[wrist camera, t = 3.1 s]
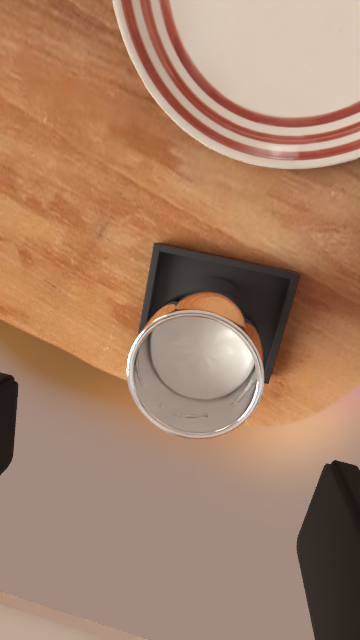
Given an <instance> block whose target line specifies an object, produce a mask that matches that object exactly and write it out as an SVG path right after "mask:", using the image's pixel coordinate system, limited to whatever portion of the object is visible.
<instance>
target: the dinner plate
mask: <svg viewBox="0 0 360 640" xmlns="http://www.w3.org/2000/svg"><path fill="white" fill-rule="evenodd" d="M113 6H114V10H115V14H116V18H117V21H118V25H119V29H120V32H121V35H122V38H123V41H124V43H125V46H126V48H127V51H128V53H129V56H130V58H131V60H132V62H133V64H134V66H135V68H136V70H137V72H138V74H139V76H140V78H141V79H142V81H143V83H144V85H145V86H146V88H147V89H148V91H149V92H150V94H151V95H152V97H153V98H154V99H155V101H156V102H157V103H158V104H159V106H160V107H161V108H162V109H163V110H164V111H165V113H166V114H167V115H168V116H169V117H170V118H171V119H172V120H173V121H174V122H175V123H176V124H177V125H178V126H179V127H180V128H181V129H183V130H184V131H185V132H186V133H188V134H189V135H190V136H192V137H193V138H194V139H196V140H197V141H199V142H200V143H202V144H203V145H205V146H206V147H208V148H210V149H212V150H214V151H216V152H218V153H220V154H222V155H225V156H227V157H230V158H232V159H235V160H237V161H241V162H245V163H248V164H252V165H257V166H262V167H267V168H276V169H311V168H319V167H326V166H331V165H337V164H341V163H345V162H349V161H353V160H356V159H359V158H360V0H113Z"/></svg>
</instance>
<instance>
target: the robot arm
mask: <svg viewBox="0 0 360 640" xmlns="http://www.w3.org/2000/svg"><path fill="white" fill-rule="evenodd" d="M17 397H18V383H17V382H15V381H14V377H13V376H12V375H8V374H4V373H0V475H1V473H3V472H4V470H6V469H7V467H8V466H9V464H10V463H11V461H12V458H13V450H14V436H15V422H16V410H17ZM297 554H298V559H299V564H300V568H301V573H302V578H303V583H304V588H305V593H306V598H307V602H308V608H309V612H310V617H311V622H312V627H313V632H314V637H315V640H360V470H359V468H358V467H357V466H355V465H352V464H348V463H344V462H340V461H337V460H335V461H333V462H332V463H331V464H326V465H325V466H324V468H323V471H322V473H321V476H320V479H319V481H318V484H317V487H316V489H315V492H314V495H313V498H312V500H311V503H310V505H309V508H308V511H307V513H306V516H305V519H304V522H303V524H302V527H301V530H300V532H299V535H298V538H297ZM0 640H147V639H145V638H141V637H138V636H135V635H132V634H129V633H126V632H123V631H120V630H117V629H114V628H111V627H108V626H105V625H102V624H99V623H96V622H93V621H90V620H87V619H83V618H81V617H78V616H74V615H71V614H68V613H65V612H62V611H59V610H56V609H53V608H50V607H47V606H43V605H41V604H37V603H34V602H31V601H28V600H25V599H22V598H19V597H16V596H13V595H10V594H7V593H4V592H1V591H0Z"/></svg>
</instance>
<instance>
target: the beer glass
mask: <svg viewBox="0 0 360 640" xmlns="http://www.w3.org/2000/svg"><path fill="white" fill-rule="evenodd" d="M263 367H264V358H263V346H262V340H261V336H260V332H259V329H258V327H257V324H256V322H255V320H254V318H253V316H252V315H251V313H250V312H249V310H248V305H247V301H246V299H245V297H244V295H243V293H242V292H241V291H240V289H239V288H238V287H237V286H235V285H234V284H233V283H231V282H229V281H227V280H224V279H220V278H207V279H203V280H200V281H198V282H196V283H195V284H193V285H192V286H191V287H190V288H189V289H188V290H187V291H186V292H183V293H181V294H179V295H177V296H175V297H173V298H172V299H170V300H169V301H168V302H166V303H165V304H164V305H162V306H161V307H160V308H159V309H158V310H157V312H156V313H155V314H154V315H153V316H152V317H151V318H150V320H149V321H148V323H147V324H146V326H145V327H144V329H143V330H142V331H141V332H140V334H139V335H138V336H137V338H136V339H135V341H134V343H133V345H132V347H131V349H130V352H129V356H128V360H127V382H128V386H129V390H130V393H131V395H132V398H133V400H134V401H135V403H136V405H137V406H138V408H139V409H140V411H141V412H142V413H143V414H144V415H145V416H146V418H148V419H149V420H150V421H151V422H152V423H153V424H155V425H156V426H157V427H159V428H161V429H162V430H164V431H166V432H168V433H170V434H173V435H176V436H179V437H183V438H188V439H211V438H216V437H220V436H223V435H225V434H228V433H230V432H232V431H234V430H235V429H236V428H238V427H240V426H241V425H242V424H244V423H245V422H246V421H247V420H248V419H249V418H250V416H251V415H252V414H253V412H254V411H255V409H256V408H257V406H258V404H259V402H260V399H261V396H262V393H263V388H264V368H263Z"/></svg>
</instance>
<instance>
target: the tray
mask: <svg viewBox="0 0 360 640" xmlns="http://www.w3.org/2000/svg"><path fill="white" fill-rule="evenodd" d="M207 278H220V279H224V280H227V281H229V282H231V283H233V284H234V285H235V286H237V287H238V288H239V289H240V291H241V292H242V293H243V295H244V297H245V299H246V301H247V305H248V310H249V312H250V313H251V315H252V316H253V318H254V320H255V322H256V324H257V327H258V329H259V332H260V336H261V340H262V346H263V358H264V367H263V368H264V383H266V384H268V383H269V380H270V376H271V373H272V370H273V366H274V363H275V359H276V356H277V353H278V349H279V346H280V342H281V339H282V336H283V332H284V329H285V326H286V322H287V319H288V315H289V312H290V309H291V305H292V302H293V298H294V295H295V292H296V288H297V285H298V282H299V278H300V274H299V273H297V272H294V271H289V270H284V269H280V268H275V267H270V266H266V265H261V264H256V263H252V262H247V261H242V260H238V259H233V258H228V257H224V256H219V255H214V254H209V253H205V252H200V251H195V250H191V249H186V248H181V247H177V246H172V245H167V244H163V243H154V247H153V253H152V258H151V264H150V270H149V276H148V281H147V287H146V293H145V299H144V304H143V310H142V316H141V322H140V327H139V333H138V335H139V334H140V332H141V331H142V330H143V329H144V327H145V326H146V324H147V323H148V321H149V320H150V318H151V317H152V316H153V315H154V314H155V313H156V312H157V310H158V309H159V308H160V307H161V306H162V305H164V304H165V303H166V302H168V301H169V300H170V299H172V298H173V297H175V296H177V295H179V294H181V293H183V292H186V291H187V290H188V289H189V288H190V287H191V286H192V285H193V284H195V283H196V282H198V281H200V280H203V279H207Z"/></svg>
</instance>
